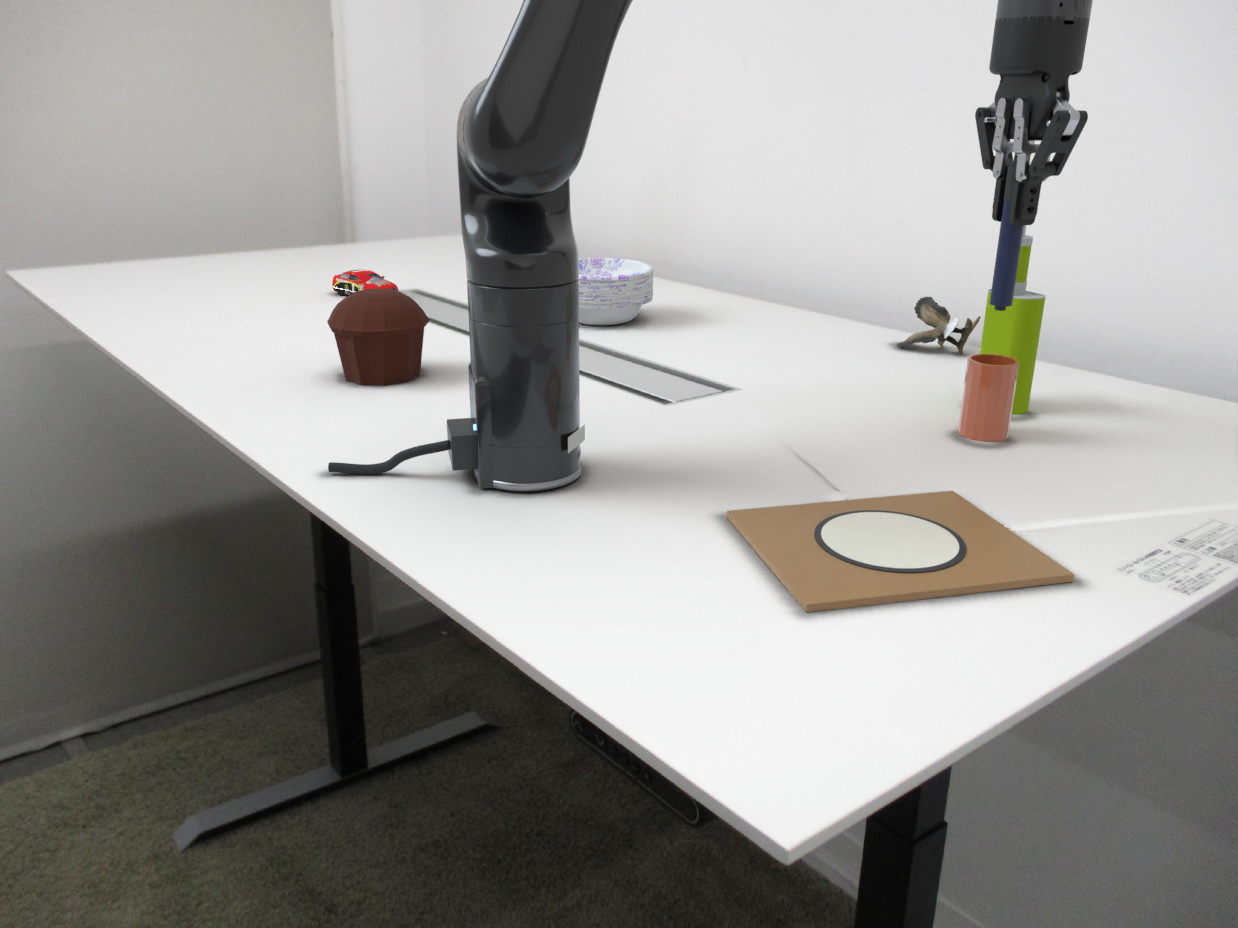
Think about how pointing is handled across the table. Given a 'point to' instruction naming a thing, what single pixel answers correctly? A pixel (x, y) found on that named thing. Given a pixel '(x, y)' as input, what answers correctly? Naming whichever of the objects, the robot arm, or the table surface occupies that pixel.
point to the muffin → (379, 336)
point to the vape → (1017, 329)
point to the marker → (1006, 251)
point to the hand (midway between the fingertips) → (1012, 222)
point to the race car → (360, 281)
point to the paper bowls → (612, 290)
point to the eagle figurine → (938, 325)
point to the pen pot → (988, 397)
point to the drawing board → (891, 550)
